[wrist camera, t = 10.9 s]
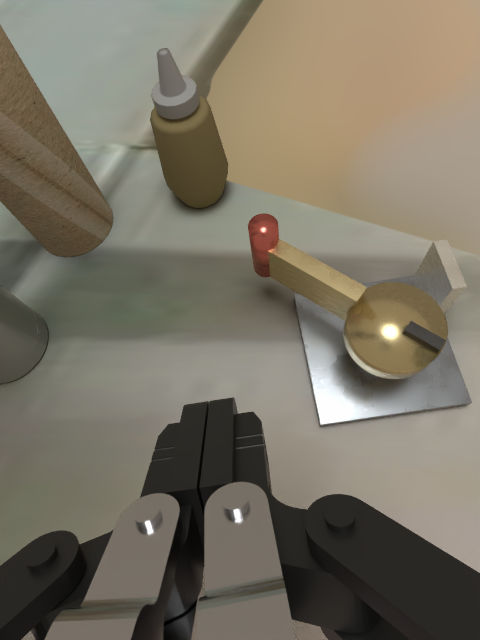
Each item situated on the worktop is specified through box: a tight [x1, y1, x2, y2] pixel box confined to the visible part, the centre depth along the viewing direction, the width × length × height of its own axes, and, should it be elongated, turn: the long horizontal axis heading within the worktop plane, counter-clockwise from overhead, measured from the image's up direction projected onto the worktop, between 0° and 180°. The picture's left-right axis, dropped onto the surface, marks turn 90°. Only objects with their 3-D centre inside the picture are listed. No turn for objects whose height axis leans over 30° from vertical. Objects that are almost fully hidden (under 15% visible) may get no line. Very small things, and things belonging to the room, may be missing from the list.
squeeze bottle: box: [150, 48, 228, 208], centre depth 44 cm, size 8×8×18 cm
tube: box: [0, 25, 113, 257], centre depth 41 cm, size 10×10×25 cm
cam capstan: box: [248, 214, 448, 379], centre depth 35 cm, size 19×8×6 cm, turn 52°
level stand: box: [294, 240, 472, 427], centre depth 37 cm, size 15×14×8 cm
